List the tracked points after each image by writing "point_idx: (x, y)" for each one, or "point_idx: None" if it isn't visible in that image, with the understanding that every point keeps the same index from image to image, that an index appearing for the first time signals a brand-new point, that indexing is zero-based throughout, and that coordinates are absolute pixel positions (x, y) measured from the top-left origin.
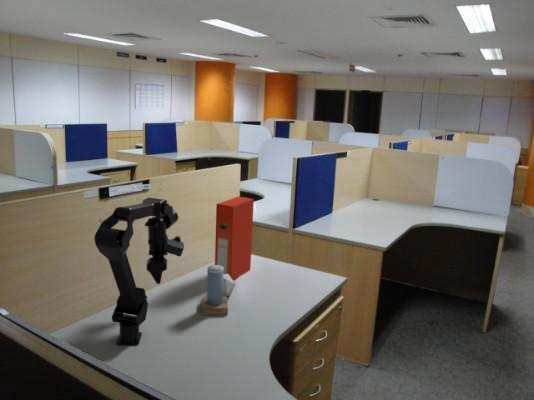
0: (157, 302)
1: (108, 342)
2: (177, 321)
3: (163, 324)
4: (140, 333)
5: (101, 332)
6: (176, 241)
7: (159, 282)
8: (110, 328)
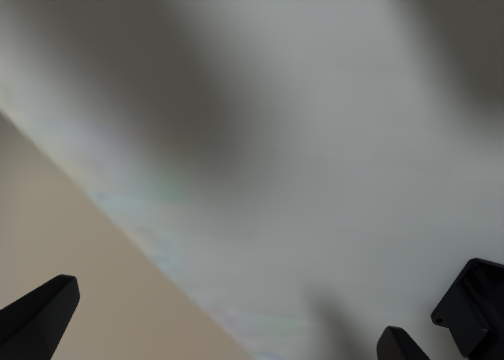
0: (176, 148)
1: None
2: (426, 75)
3: (425, 155)
4: (484, 267)
5: None
6: None
7: (412, 350)
8: (366, 333)
